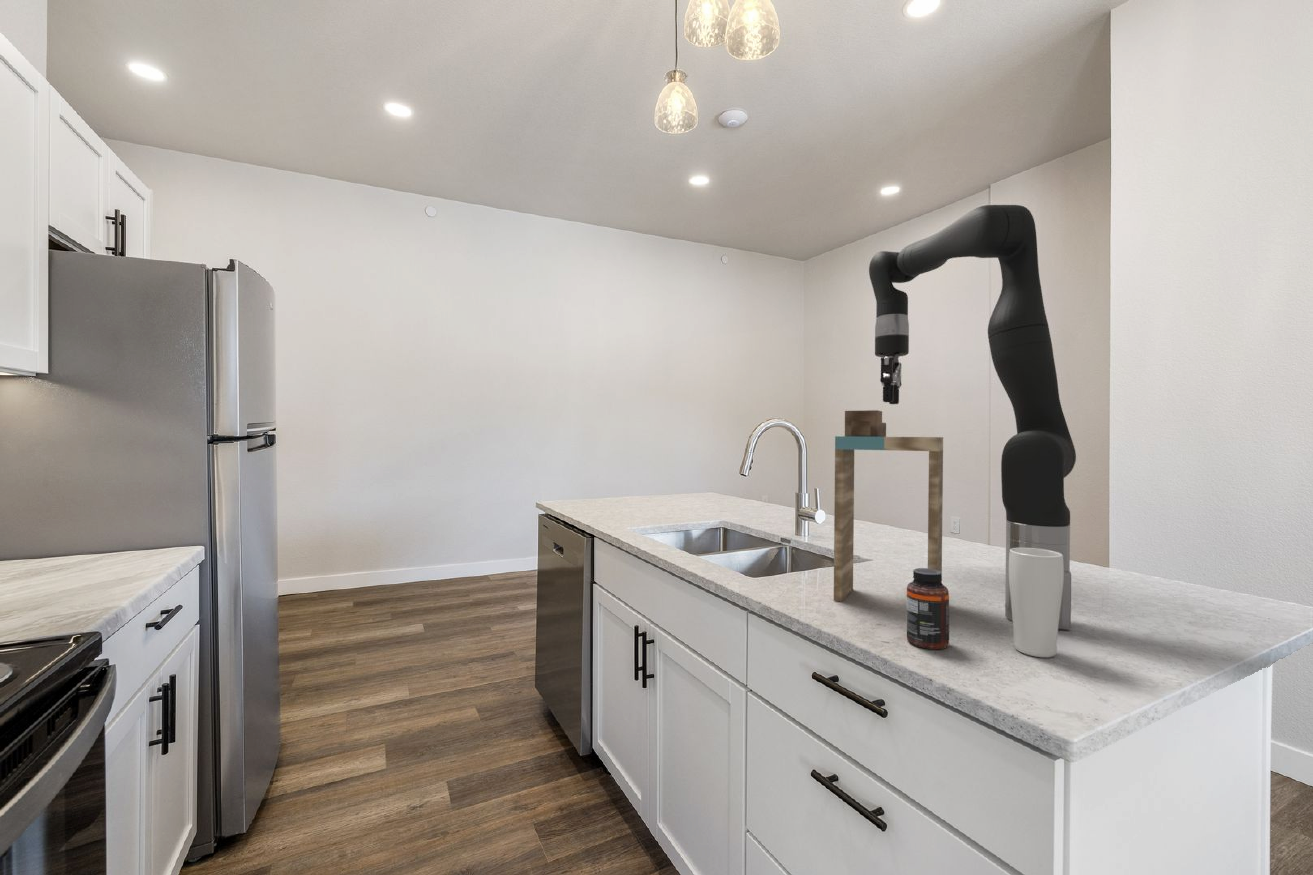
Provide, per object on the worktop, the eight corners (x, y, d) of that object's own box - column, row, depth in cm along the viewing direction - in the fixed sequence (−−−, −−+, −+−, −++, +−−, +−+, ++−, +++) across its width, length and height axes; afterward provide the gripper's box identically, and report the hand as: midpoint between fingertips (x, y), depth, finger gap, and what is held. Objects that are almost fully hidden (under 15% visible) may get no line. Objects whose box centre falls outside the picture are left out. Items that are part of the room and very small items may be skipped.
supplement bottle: (939, 637, 89) (940, 566, 89) (955, 651, 83) (956, 576, 83) (900, 635, 89) (901, 565, 89) (914, 650, 83) (915, 574, 83)
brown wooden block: (892, 436, 120) (892, 413, 120) (877, 436, 105) (877, 410, 105) (863, 436, 123) (863, 414, 123) (844, 436, 108) (844, 410, 108)
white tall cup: (1064, 664, 78) (1066, 558, 78) (1007, 654, 82) (1009, 553, 82) (1060, 649, 84) (1061, 550, 84) (1007, 640, 88) (1008, 545, 88)
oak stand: (941, 602, 107) (943, 437, 107) (936, 616, 99) (938, 437, 99) (845, 588, 117) (847, 436, 117) (833, 600, 108) (835, 436, 108)
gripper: (904, 329, 126) (903, 401, 126) (912, 339, 138) (912, 404, 138) (869, 332, 129) (868, 402, 130) (880, 341, 142) (879, 405, 142)
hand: (891, 403), depth 134 cm, fingers open, 8 cm apart
